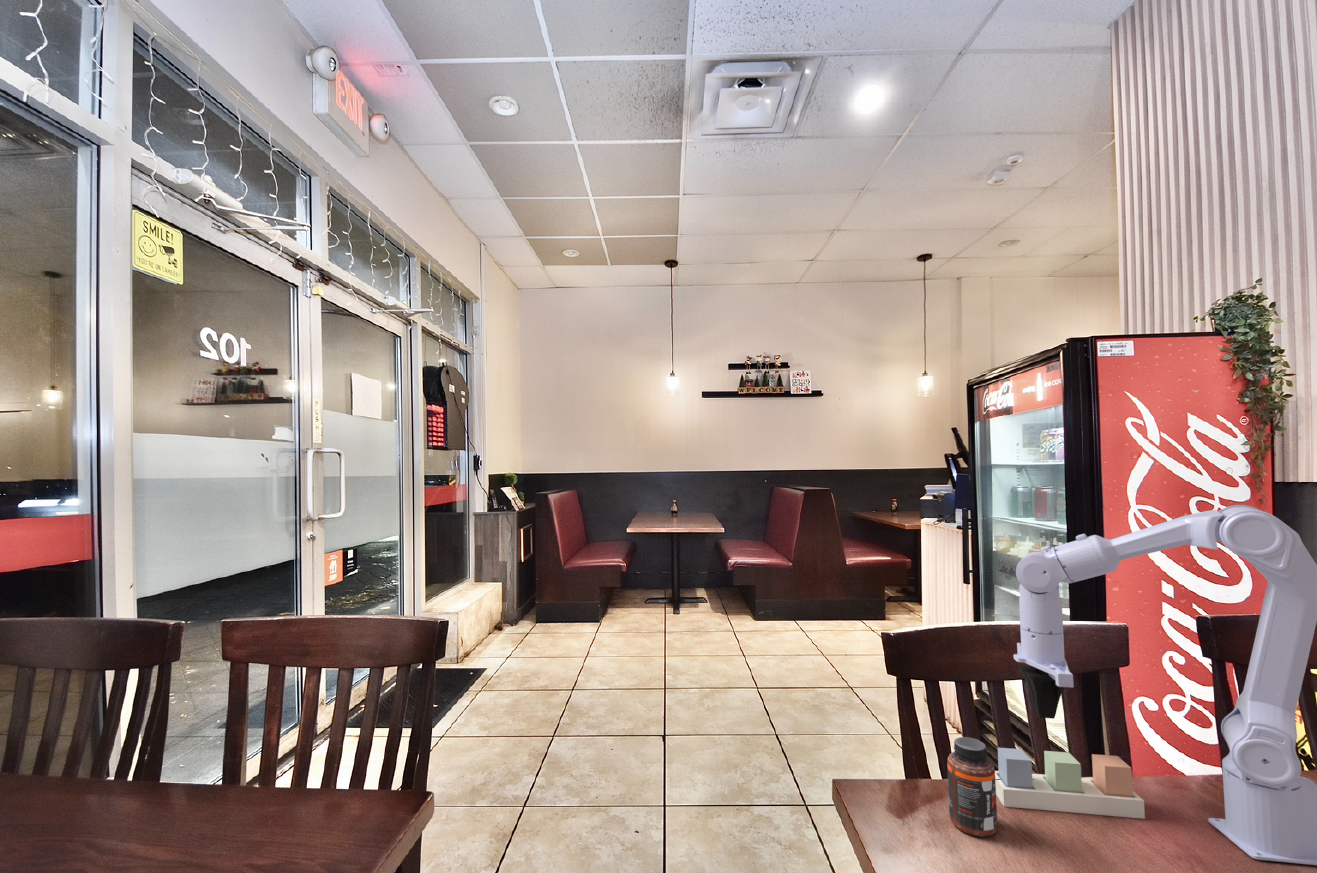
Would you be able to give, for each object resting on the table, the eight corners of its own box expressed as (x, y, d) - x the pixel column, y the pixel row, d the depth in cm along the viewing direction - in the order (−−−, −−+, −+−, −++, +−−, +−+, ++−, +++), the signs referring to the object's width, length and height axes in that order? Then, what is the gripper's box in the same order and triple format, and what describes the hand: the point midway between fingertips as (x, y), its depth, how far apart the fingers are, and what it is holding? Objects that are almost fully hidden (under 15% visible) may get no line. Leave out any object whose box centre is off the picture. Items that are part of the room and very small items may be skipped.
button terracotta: (1119, 786, 86) (1117, 756, 86) (1133, 800, 83) (1131, 767, 83) (1093, 784, 87) (1091, 754, 87) (1106, 797, 83) (1104, 766, 84)
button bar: (1122, 797, 87) (1122, 780, 87) (1144, 818, 82) (1144, 800, 82) (990, 786, 90) (990, 770, 90) (1004, 806, 85) (1003, 789, 85)
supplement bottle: (1004, 841, 77) (1001, 755, 78) (956, 836, 79) (953, 751, 79) (988, 814, 83) (985, 734, 84) (944, 810, 84) (941, 731, 85)
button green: (1070, 782, 87) (1068, 752, 88) (1082, 795, 84) (1080, 764, 84) (1045, 781, 88) (1044, 750, 88) (1056, 793, 85) (1054, 762, 85)
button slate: (1023, 779, 89) (1021, 749, 89) (1032, 791, 85) (1031, 760, 85) (998, 777, 89) (997, 747, 89) (1007, 789, 86) (1006, 758, 86)
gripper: (996, 616, 100) (1000, 696, 99) (1034, 642, 85) (1038, 736, 85) (1041, 617, 98) (1045, 698, 98) (1087, 644, 84) (1092, 739, 83)
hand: (1045, 716), depth 91 cm, fingers closed
